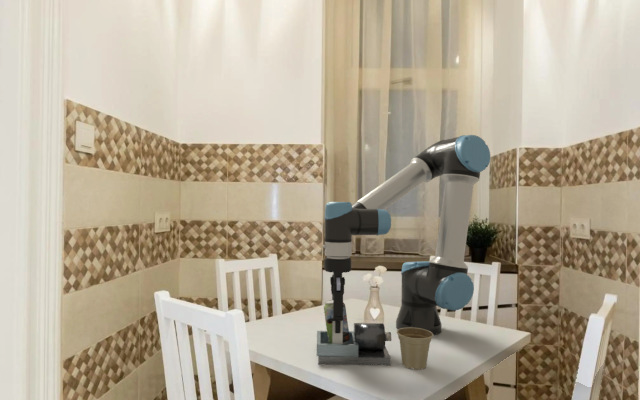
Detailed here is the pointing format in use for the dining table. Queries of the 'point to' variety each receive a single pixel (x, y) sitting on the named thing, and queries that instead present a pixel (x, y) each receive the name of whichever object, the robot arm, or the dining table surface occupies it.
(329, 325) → the beverage can
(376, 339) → the motor housing
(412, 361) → the flower pot
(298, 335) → the dining table surface
